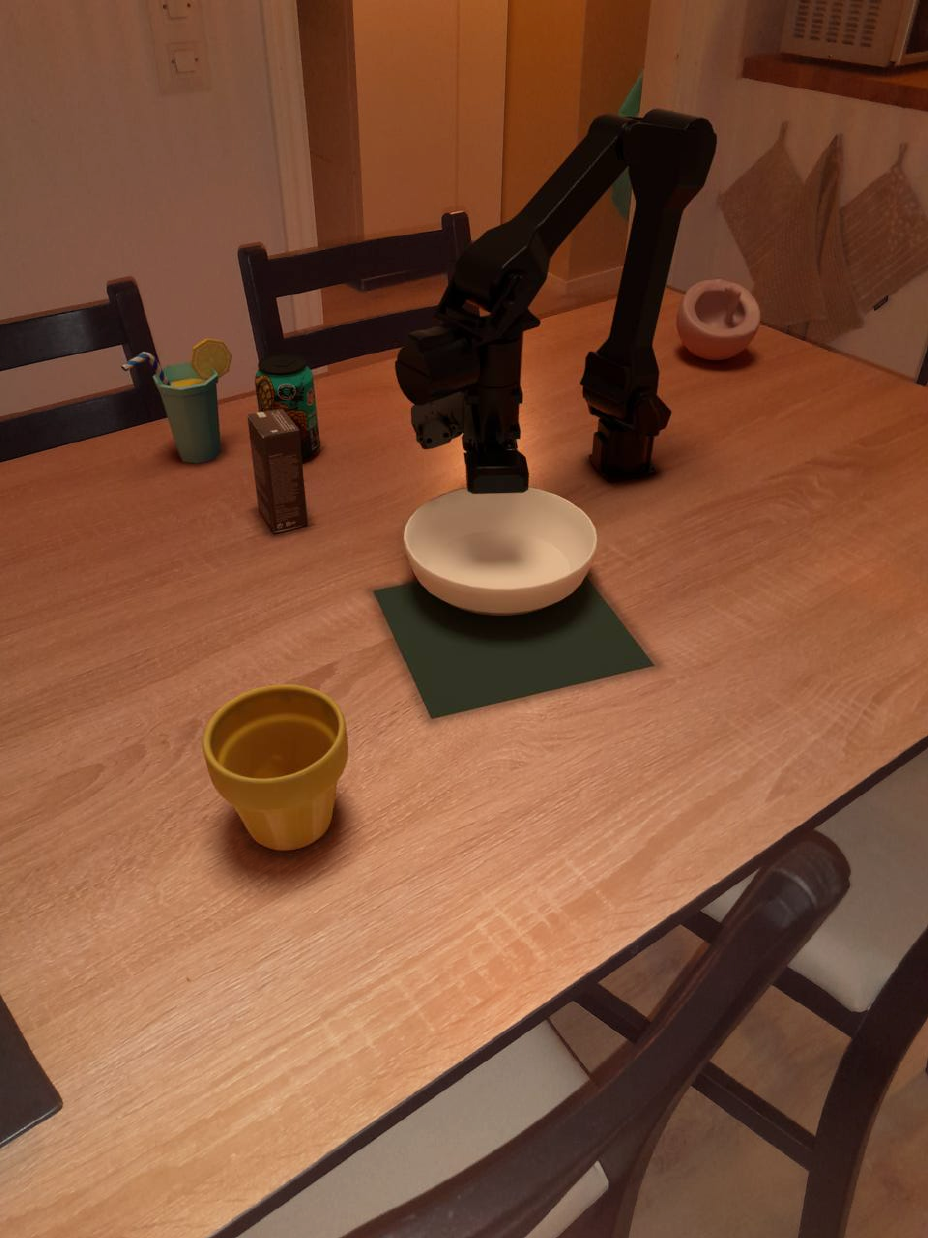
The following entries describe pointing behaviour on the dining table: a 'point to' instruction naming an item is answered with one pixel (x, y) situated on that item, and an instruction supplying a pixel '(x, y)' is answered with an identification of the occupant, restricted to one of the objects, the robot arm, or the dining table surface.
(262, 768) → the flower pot
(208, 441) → the cup
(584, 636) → the mat
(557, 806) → the dining table surface
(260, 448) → the box
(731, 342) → the mortar and pestle
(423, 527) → the bowl
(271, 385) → the green cylinder
